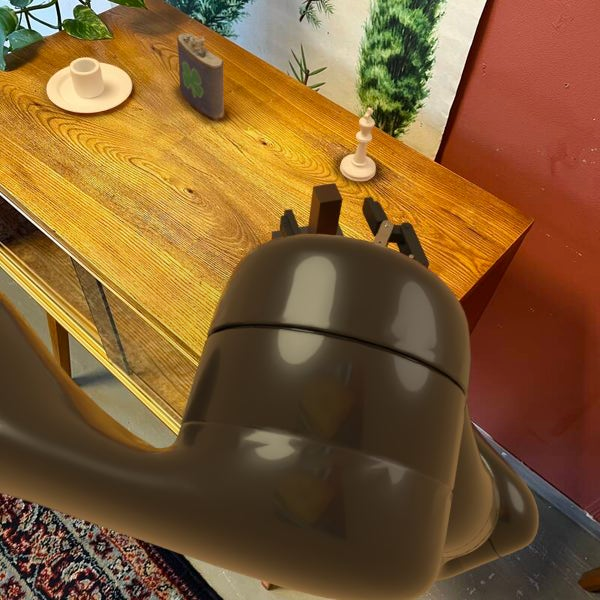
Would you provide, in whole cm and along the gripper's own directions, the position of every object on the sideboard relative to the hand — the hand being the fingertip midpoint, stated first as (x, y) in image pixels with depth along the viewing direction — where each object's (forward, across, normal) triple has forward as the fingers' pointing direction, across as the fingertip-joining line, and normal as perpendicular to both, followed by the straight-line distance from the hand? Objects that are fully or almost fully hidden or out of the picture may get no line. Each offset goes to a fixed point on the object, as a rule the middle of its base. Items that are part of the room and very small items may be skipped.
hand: (327, 209), depth 68 cm
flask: (+36, +6, +13) cm, 39 cm away
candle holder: (+42, +21, +13) cm, 49 cm away
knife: (0, 0, +13) cm, 13 cm away
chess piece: (+18, -12, +13) cm, 26 cm away
